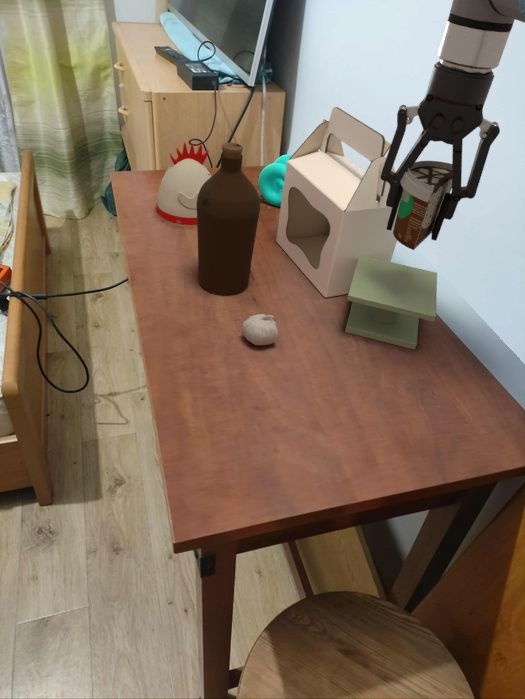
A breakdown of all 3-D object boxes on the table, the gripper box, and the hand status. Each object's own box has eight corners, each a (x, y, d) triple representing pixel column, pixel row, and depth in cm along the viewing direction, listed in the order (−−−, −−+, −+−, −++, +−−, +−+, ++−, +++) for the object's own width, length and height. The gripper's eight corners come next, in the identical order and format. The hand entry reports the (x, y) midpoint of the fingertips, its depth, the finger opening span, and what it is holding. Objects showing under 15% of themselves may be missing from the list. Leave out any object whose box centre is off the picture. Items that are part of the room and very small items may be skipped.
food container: (403, 213, 85) (422, 152, 78) (438, 226, 82) (461, 165, 76) (372, 238, 76) (390, 173, 70) (409, 253, 74) (432, 188, 68)
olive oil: (241, 303, 90) (254, 164, 74) (185, 288, 92) (186, 149, 76) (258, 274, 98) (274, 142, 82) (207, 261, 100) (212, 129, 84)
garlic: (280, 334, 85) (284, 309, 81) (273, 355, 81) (277, 329, 77) (246, 326, 86) (248, 301, 82) (237, 346, 81) (239, 320, 78)
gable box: (383, 289, 99) (429, 142, 81) (325, 299, 94) (359, 146, 76) (328, 234, 114) (356, 100, 96) (274, 240, 109) (294, 100, 91)
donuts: (307, 198, 127) (314, 158, 121) (292, 213, 120) (298, 171, 114) (271, 187, 130) (276, 148, 123) (254, 201, 123) (258, 160, 116)
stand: (423, 309, 95) (437, 272, 90) (420, 355, 85) (435, 316, 80) (349, 291, 97) (359, 254, 92) (338, 333, 87) (348, 295, 82)
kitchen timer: (223, 224, 112) (227, 156, 102) (159, 225, 109) (157, 155, 99) (213, 196, 122) (215, 132, 113) (154, 196, 119) (152, 130, 109)
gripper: (540, 72, 66) (473, 234, 80) (392, 47, 68) (354, 208, 83) (549, 85, 60) (475, 256, 75) (387, 57, 63) (347, 228, 78)
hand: (411, 231), depth 79 cm, fingers closed on food container, 6 cm apart
